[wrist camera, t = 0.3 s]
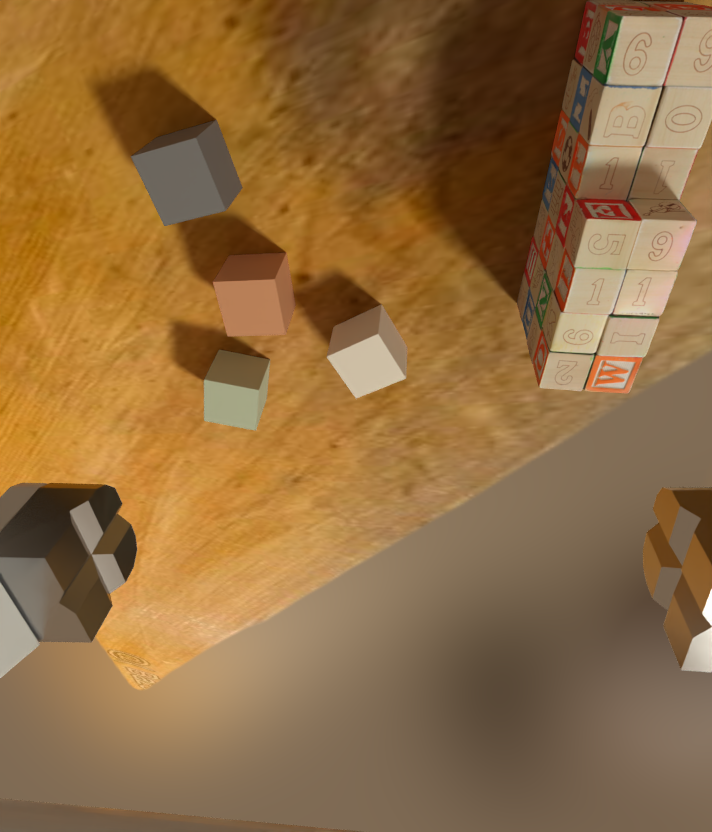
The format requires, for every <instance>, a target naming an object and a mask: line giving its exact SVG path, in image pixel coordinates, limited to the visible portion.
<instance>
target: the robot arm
mask: <svg viewBox="0 0 712 832" xmlns="http://www.w3.org/2000/svg"><path fill="white" fill-rule="evenodd" d="M121 506H122V502H121V500H120V498H119V496H118V493H117V491H116V489H115V488H114V487H111V486H108V485H102V484H68V483H49V484H45V483H20V484H17V485H14V486H12V487H10V488H9V489H8V490H7V491H6V492H5V493H4V494H3V495H2V496H1V497H0V678H1V677H2V676H3V675H5V674H6V673H7V672H8V671H9V670H10V669H11V668H13V667H14V666H15V665H16V664H17V663H19V662H20V661H21V660H22V659H23V658H24V657H26V656H27V655H28V654H29V653H30V652H31V651H33V650H34V649H35V648H36V647H37V646H39V644H40V643H39V642H42V641H43V642H92V641H93V639H94V637H95V636H96V634H97V632H98V630H99V629H100V627H101V625H102V623H103V621H104V620H105V618H106V616H107V614H108V613H109V611H110V609H111V607H112V606H113V605H112V601H111V596H110V593H111V592H113V591H114V590H116V589H117V588H118V587H120V586H121V585H123V584H124V583H125V582H126V581H127V579H128V577H129V575H130V573H131V571H132V569H133V567H134V563H135V558H136V552H137V544H136V536H135V533H134V531H133V528H132V526H131V524H130V523H129V522H127V521H126V520H125V519H124V518H122V517H121V516H120V515H119V514H118V512H119V510H120V508H121ZM653 510H654V512H655V515H656V517H657V519H658V521H659V523H658V524H657V525H656V526H654V527H653V528H652V529H650V530H649V531H648V532H647V534H646V538H645V543H644V547H643V568H644V573H645V578H646V582H647V585H648V588H649V591H650V593H651V596H652V599H654V600H655V601H656V602H657V603H659V604H660V605H661V606H662V607H664V608H665V609H666V610H667V611H668V613H667V616H666V619H665V622H664V625H663V627H664V629H665V632H666V634H667V636H668V639H669V641H670V644H671V646H672V649H673V651H674V654H675V656H676V659H677V661H678V664H679V666H680V668H681V670H687V671H699V672H712V487H670V488H669V487H665V488H664V487H663V488H662V489H661V490H660V492H659V493H658V494H657V497H656V501H655V504H654V507H653ZM0 832H363V831H352V830H340V829H330V828H318V827H308V826H297V825H286V824H276V823H265V822H254V821H243V820H231V819H220V818H210V817H199V816H188V815H177V814H166V813H155V812H143V811H132V810H122V809H110V808H100V807H88V806H78V805H66V804H56V803H45V802H34V801H22V800H12V799H1V798H0Z"/></svg>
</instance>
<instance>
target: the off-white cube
mask: <svg viewBox="0 0 712 832" xmlns="http://www.w3.org/2000/svg"><path fill="white" fill-rule="evenodd" d="M327 358H328V359H329V361H330V362H331V364H332V365H333V367H334V368H335V369H336V371H337V372H338V374H339V375H340V376H341V378H342V379H343V381H344V382H345V384H346V385H347V386H348V388H349V389H350V391H351V392H352V393H353V395H354V396H355V398H358V397H361V396H363V395H366V394H368V393H371V392H373V391H376V390H378V389H381V388H383V387H386V386H388V385H391V384H393V383H396V382H398V381H401V380H403V379H406V367H407V346H406V344H405V343H404V341H403V339H402V338H401V336H400V334H399V333H398V331H397V329H396V328H395V326H394V324H393V323H392V321H391V319H390V318H389V316H388V314H387V313H386V311H385V309H384V308H383V306H382V304H381V305H379V306H377V307H375V308H373V309H370V310H368V311H366V312H364V313H362V314H360V315H358V316H355V317H353V318H351V319H349V320H347V321H345V322H342V323H340V324H338V325H336V326H334V327H333V331H332V336H331V340H330V344H329V349H328V353H327Z"/></svg>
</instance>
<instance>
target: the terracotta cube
mask: <svg viewBox="0 0 712 832" xmlns="http://www.w3.org/2000/svg"><path fill="white" fill-rule="evenodd" d="M213 284H214V288H215V292H216V296H217V299H218V303H219V307H220V310H221V314H222V318H223V321H224V325H225V329H226V332H227V336H260V335H286V332H287V329H288V326H289V324H290V321H291V318H292V315H293V312H294V309H295V306H296V304H295V299H294V293H293V287H292V281H291V276H290V270H289V264H288V259H287V253H266V254H245V255H229V256H228V258H227V260H226V261H225V263H224V264H223V266H222V268H221V269H220V271H219V273H218V274H217V276H216V278H215V279H214V281H213Z"/></svg>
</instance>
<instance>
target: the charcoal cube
mask: <svg viewBox="0 0 712 832" xmlns="http://www.w3.org/2000/svg"><path fill="white" fill-rule="evenodd" d="M131 158H132V160H133V162H134V164H135V166H136V168H137V170H138V172H139V175H140V177H141V179H142V181H143V183H144V185H145V187H146V189H147V191H148V193H149V195H150V197H151V199H152V201H153V203H154V205H155V208H156V210H157V212H158V214H159V216H160V218H161V220H162V222H163V224H164V226H167V225H171V224H175V223H179V222H183V221H187V220H191V219H195V218H199V217H203V216H207V215H211V214H215V213H219V212H223V211H226V210H227V208H228V207H229V206H230V204H231V203H232V202H233V200H234V199H235V197H236V196H237V195H238V193H239V192H240V191H241V189H242V185H241V183H240V180H239V177H238V175H237V172H236V170H235V167H234V164H233V162H232V159H231V156H230V154H229V151H228V149H227V146H226V143H225V141H224V138H223V135H222V133H221V130H220V128H219V125H218V122H217V120H214V121H211V122H207V123H204V124H200V125H197V126H194V127H190V128H187V129H183V130H180V131H177V132H173V133H170V134H166V135H163V136H160V137H156V138H155V139H154V140H152V141H151V142H150V143H148V144H147V145H146V146H144V147H143V148H142V149H140V150H139V151H138V152H136V153H135V154H134V155H132V156H131Z"/></svg>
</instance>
